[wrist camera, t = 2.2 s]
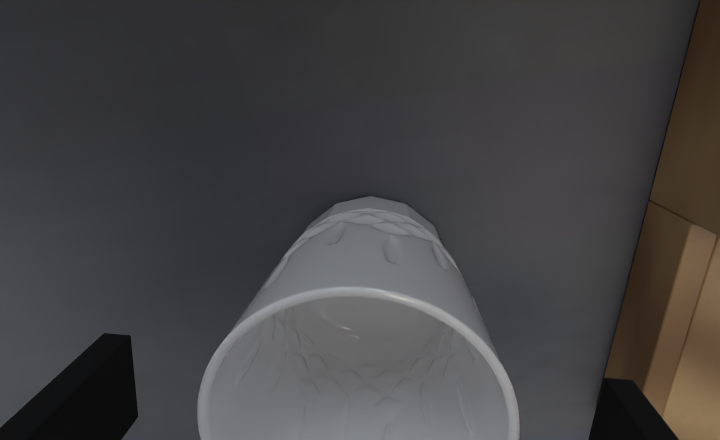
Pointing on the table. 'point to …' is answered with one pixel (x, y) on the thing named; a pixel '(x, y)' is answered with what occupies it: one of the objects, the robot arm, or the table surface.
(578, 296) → the table surface
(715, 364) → the step shelf
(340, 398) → the white cup
